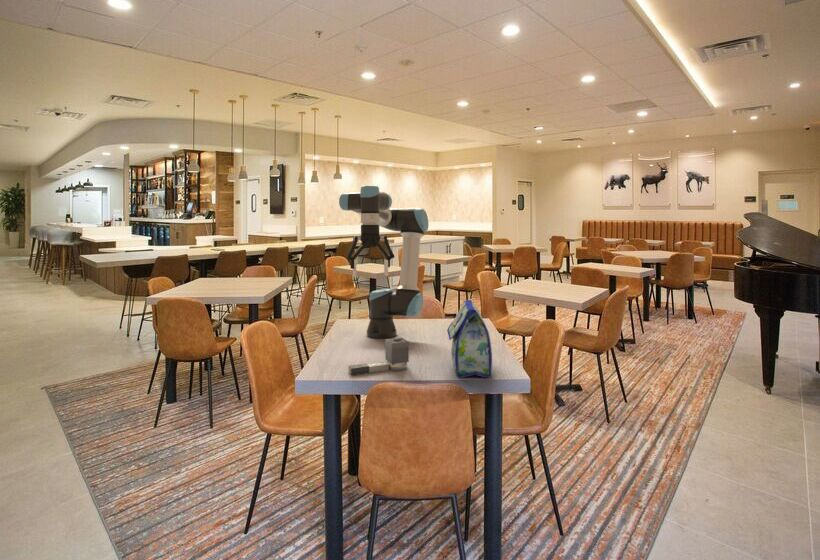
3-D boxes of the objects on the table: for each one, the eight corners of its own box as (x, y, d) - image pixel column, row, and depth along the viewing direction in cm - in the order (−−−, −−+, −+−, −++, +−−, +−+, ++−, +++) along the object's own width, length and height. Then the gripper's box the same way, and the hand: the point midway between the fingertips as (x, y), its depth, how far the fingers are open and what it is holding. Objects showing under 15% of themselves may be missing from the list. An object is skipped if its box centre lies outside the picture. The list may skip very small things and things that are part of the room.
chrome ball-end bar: (347, 370, 183) (346, 351, 182) (402, 364, 192) (402, 345, 191) (352, 377, 176) (352, 357, 175) (410, 369, 185) (410, 350, 184)
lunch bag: (446, 361, 196) (447, 298, 193) (487, 362, 195) (488, 298, 192) (449, 379, 174) (450, 308, 171) (495, 379, 173) (496, 308, 170)
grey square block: (385, 359, 189) (385, 338, 188) (401, 357, 191) (401, 337, 190) (391, 363, 182) (391, 342, 181) (408, 361, 185) (408, 340, 184)
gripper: (342, 224, 186) (343, 278, 188) (402, 224, 195) (402, 275, 198) (337, 224, 193) (338, 276, 195) (395, 224, 202) (395, 273, 205)
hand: (370, 276), depth 197 cm, fingers open, 13 cm apart
